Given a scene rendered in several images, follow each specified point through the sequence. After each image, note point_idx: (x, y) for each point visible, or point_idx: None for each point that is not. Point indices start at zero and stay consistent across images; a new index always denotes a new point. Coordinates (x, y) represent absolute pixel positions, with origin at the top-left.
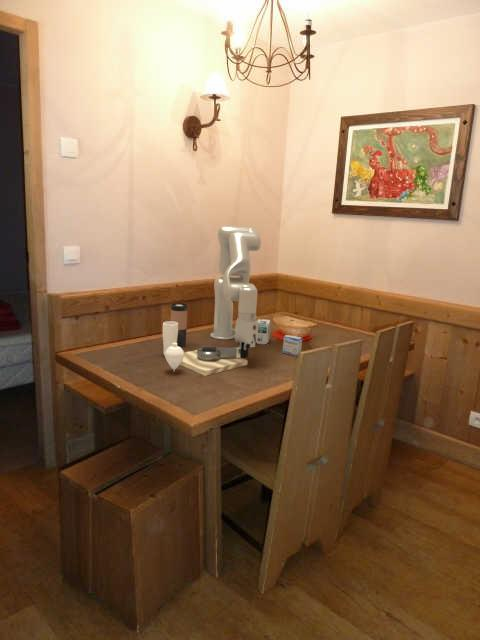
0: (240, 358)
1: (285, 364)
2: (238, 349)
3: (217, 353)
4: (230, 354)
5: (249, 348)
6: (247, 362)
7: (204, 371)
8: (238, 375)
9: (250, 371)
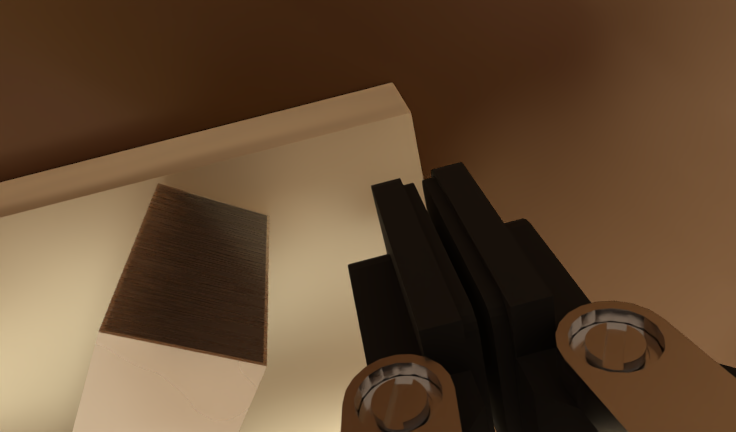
0: (236, 195)
1: None
2: (237, 416)
3: None
4: None
5: (656, 331)
6: (401, 99)
7: None
8: None
9: (673, 199)
